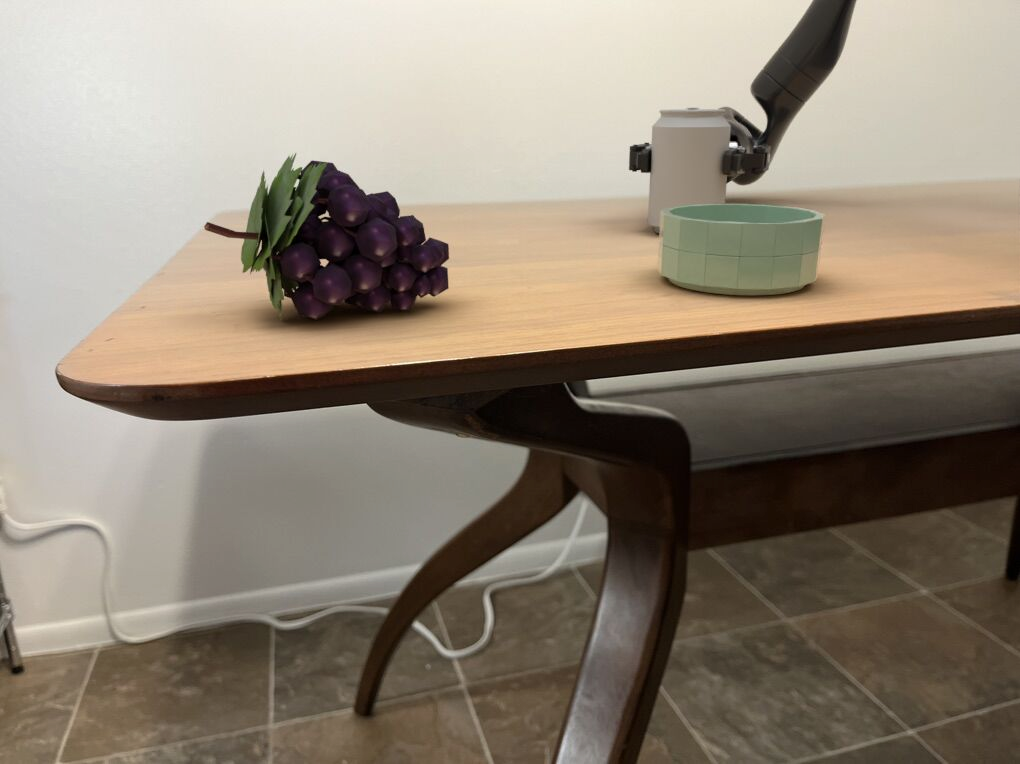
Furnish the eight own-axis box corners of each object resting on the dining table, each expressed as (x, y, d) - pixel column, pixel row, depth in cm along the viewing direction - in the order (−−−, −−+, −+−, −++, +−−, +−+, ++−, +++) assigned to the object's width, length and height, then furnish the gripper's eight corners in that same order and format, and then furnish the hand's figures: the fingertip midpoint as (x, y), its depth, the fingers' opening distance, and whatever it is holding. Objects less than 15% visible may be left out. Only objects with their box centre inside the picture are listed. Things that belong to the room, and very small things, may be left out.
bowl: (791, 266, 65) (797, 203, 63) (837, 298, 54) (847, 223, 53) (650, 266, 65) (653, 203, 64) (669, 297, 55) (673, 223, 53)
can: (644, 236, 80) (650, 108, 76) (650, 225, 87) (655, 107, 83) (722, 239, 78) (732, 107, 74) (722, 227, 85) (731, 106, 81)
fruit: (447, 364, 51) (195, 331, 45) (407, 301, 60) (192, 266, 54) (492, 208, 48) (225, 147, 41) (443, 165, 56) (216, 110, 50)
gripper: (653, 118, 94) (614, 121, 80) (782, 118, 89) (765, 121, 75) (650, 184, 97) (612, 199, 82) (775, 188, 91) (758, 204, 77)
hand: (685, 162), depth 79 cm, fingers closed on can, 7 cm apart
